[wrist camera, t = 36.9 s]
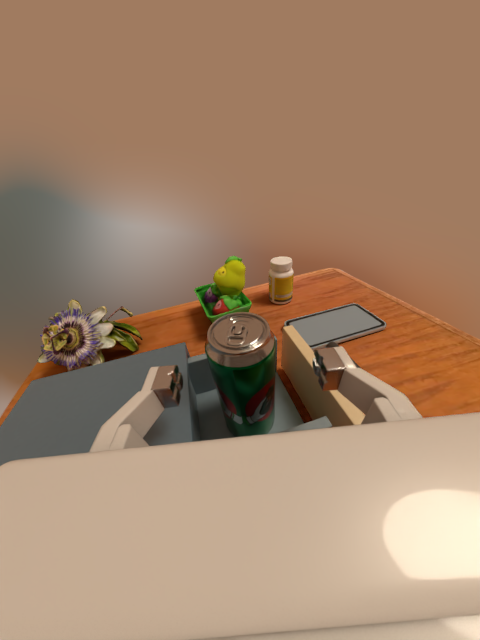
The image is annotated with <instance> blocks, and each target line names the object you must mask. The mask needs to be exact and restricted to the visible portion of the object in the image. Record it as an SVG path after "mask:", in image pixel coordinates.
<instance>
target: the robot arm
mask: <svg viewBox="0 0 480 640" xmlns="http://www.w3.org/2000/svg"><path fill="white" fill-rule="evenodd" d="M314 355H315V357H314V358H313V362H312V364H313V370H314V373H315V375H317V376H318V377H319V379H318V382H319V384H320V386H321V389H322V391H328V390H337V391H339V392H340V393H341V394H342V395H343V396H344V397H345V398H347V399H348V400H349V401H350V402H351V403H352V404H354V405H355V406H356V407H357V408H358V409H359V410H361V411H362V412H363V413H364V414H365V417H364V419H363V421H362V423H361V424H360V425H350V426H341V427H331V428H321V429H311V430H302V431H292V432H282V433H273V434H263V435H253V436H243V437H234V438H224V439H214V440H205V441H195V442H186V443H176V444H166V445H156V446H149V445H148V444H147V442H146V441H145V440H144V439H143V437H144V436H145V435H146V433H147V432H148V431H149V429H150V428H151V427H152V425H153V424H154V423H155V421H156V420H157V419H158V417H159V416H160V415H161V413H162V412H163V411H164V408H169V407H177V406H179V403H180V399H181V395H180V391H181V390H182V389H183V376H182V374H181V373H180V372H179V367H178V365H168V366H158V367H151V368H150V369H149V372H148V374H147V377H146V379H145V382H144V384H143V387H142V390H141V391H139V392H137V393H136V394H135V395H134V396H133V397H132V398H131V399H130V400H129V401H128V402H127V403H126V404H125V405H123V406H122V407H121V408H120V409H119V410H118V411H117V412H116V413H115V414H114V415H113V416H112V417H111V418H110V419H109V420H107V421H106V422H105V423H104V424H103V425H102V426H101V428H100V430H99V432H98V434H97V436H96V438H95V440H94V442H93V445H92V447H91V449H90V451H89V452H88V453H78V454H69V455H59V456H49V457H39V458H30V459H20V460H13V461H10V462H7V463H5V464H3V465H1V466H0V640H480V412H476V413H466V414H457V415H447V416H438V417H428V418H423V417H422V416H421V414H420V413H419V412H418V411H417V409H416V408H415V407H414V406H413V404H412V403H411V402H410V401H409V399H408V398H407V397H406V396H405V394H403V393H401V392H400V391H398V390H396V389H395V388H393V387H391V386H390V385H388V384H386V383H385V382H383V381H381V380H379V379H378V378H376V377H374V376H373V375H371V374H369V373H368V372H366V371H364V370H363V369H361V368H357V367H356V366H355V364H354V363H353V361H352V360H351V358H350V357H349V355H348V354H347V352H346V351H345V349H344V348H343V347H342V346H339V347H330V348H322V349H315V351H314Z"/></svg>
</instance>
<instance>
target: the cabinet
mask: <svg viewBox="0 0 480 640" xmlns="http://www.w3.org/2000/svg"><path fill="white" fill-rule="evenodd" d="M188 358H190V355H189V352H188V349H187V347H186V344H185V342H184V343H180V344H176V345H172V346H168V347H164V348H160V349H156V350H152V351H148V352H144V353H140V354H136V355H132V356H128V357H124V358H120V359H116V360H112V361H108V362H104V363H100V364H96V365H93V366H89V367H85V368H81V369H77V370H73V371H69V372H65V373H61V374H57V375H53V376H49V377H45V378H41V379H37V380H33V381H32V382H31V383H30V384H29V386H28V387H27V389H26V390H25V392H24V393H23V395H22V396H21V398H20V399H19V400H18V402H17V403H16V405H15V406H14V408H13V409H12V411H11V412H10V414H9V415H8V416H7V418H6V419H5V421H4V422H3V424H2V425H1V427H0V466H1V465H3V464H5V463H7V462H10V461H13V460H20V459H30V458H39V457H49V456H59V455H69V454H78V453H88V452H89V451H90V449H91V447H92V445H93V442H94V440H95V438H96V436H97V434H98V432H99V430H100V428H101V426H102V425H103V424H104V423H105V422H106V421H107V420H109V419H110V418H111V417H112V416H113V415H114V414H115V413H116V412H117V411H118V410H119V409H120V408H121V407H122V406H123V405H125V404H126V403H127V402H128V401H129V400H130V399H131V398H132V397H133V396H134V395H135V394H136V393H137V392H139V391H141V390H142V387H143V384H144V382H145V379H146V377H147V374H148V372H149V369H150V368H151V367H158V366H168V365H178V367H179V372H180V373H181V374H182V376H183V389H182V390H181V391H180V395H181V399H180V403H179V406H177V407H169V408H164V411H163V412H162V413H161V415H160V416H159V417H158V419H157V420H156V421H155V423H154V424H153V425H152V427H151V428H150V429H149V431H148V432H147V433H146V435H145V436H144V437H143V439H144V440H145V441H146V442H147V444H148V445H149V446H156V445H166V444H176V443H186V442H195V440H194V428H193V416H192V404H191V392H190V380H189V368H188Z"/></svg>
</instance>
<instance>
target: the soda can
mask: <svg viewBox="0 0 480 640" xmlns="http://www.w3.org/2000/svg"><path fill="white" fill-rule="evenodd" d="M205 352H206V356H207V359H208V363H209V366H210V370H211V373H212V376H213V380H214V383H215V387H216V390H217V394H218V397H219V401H220V404H221V407H222V411H223V414H224V418H225V421H226V424H227V427H228V429H229V431H230V432H231V433H232V434H233V435H234V436H235V437H243V436H253V435H263V434H268V433H269V431H270V430H271V428H272V426H273V424H274V419H275V353H276V342H275V336H274V334H273V332H272V331H271V330H270V327H269V324H268V323H267V321H266V320H265V319H264V318H262V317H261V316H259V315H257V314H254V313H249V312H235V313H230V314H227V315H224V316H222V317H220V318H218V319H217V320H216V321H214V322H213V323H212V325H211V326H210V327H209V329H208V333H207V340H206V343H205Z"/></svg>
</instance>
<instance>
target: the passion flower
mask: <svg viewBox="0 0 480 640" xmlns="http://www.w3.org/2000/svg"><path fill="white" fill-rule="evenodd" d="M120 308H121V309H120ZM120 308H119V309H120V310H122V311H124V312H126V313H128V315H129V316H130V317H131V316H133V314H132V313H131V312H130V311H128V310H127V309H125V308H124V307H123V306H121V307H120ZM119 309H118V310H119ZM118 310H116V311H115V312H114V313H116V312H117V311H118ZM106 313H107V310H106V307H104V306H102V307H100V308H97V309H95V310H94V311H93V312H91V313H89V314H87V315H86V314H85V315H84V316H83V313H82V309H81V305H80V304H79V302H78V301H76V300H73V299H72V300H71V301H70V302H69V304H68V309H67V310H66V312H64V311H61V313H56V314H55V316H54V317H49V319H50V322H51V324H50V326H47V325H45V327H44V328H43V330H42V331H43V335H40V336H42V342H43V343H44V344H43V345H42V346H41V351H42V354H41V355H40V357H39V358H38V360H37V361H38V362H39V363H44V362H49V361H53V362H54V363H55V364H57V365H60V366H61V365H64V366H66V368H67V370H68V371H72V370H74V369H81V368H85V367H89V366H90V364H92V365H96V364H100V363H104V362H105V359H104V356H103V354H102V349H108V348H113V347H114V346H115V344H116V342H115V340H116V341H117V342H118V343H119V344H121V345H122V346H124V347H126V348H127V349H129V350H130V351H132V352H134V351H136V350H137V351H138V350H139V347H138V344H137V343H136V341H135V340H134V339H133V337H132V336H131V335H129V334H126V333H124V332H123V331H120V330H118V329H121V330H124V331H127V332H129V333H132V334H133V335H135V336H137V337H139V338H140V339H141V340H142V337H141V336H140V333H139V331H138V330H137V329H136V328H135V327H133V326H131V325H128V324H125V323H117V322H115V321H111V322H110V321H108V319H109V318H110V317H111V316H112V315H113V314H114V313H113V314H112V315H110V317H109V318H108V319H107V320H105V321H104V322H102V319H103V317H104V316H105V314H106ZM116 328H117V329H116Z"/></svg>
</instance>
